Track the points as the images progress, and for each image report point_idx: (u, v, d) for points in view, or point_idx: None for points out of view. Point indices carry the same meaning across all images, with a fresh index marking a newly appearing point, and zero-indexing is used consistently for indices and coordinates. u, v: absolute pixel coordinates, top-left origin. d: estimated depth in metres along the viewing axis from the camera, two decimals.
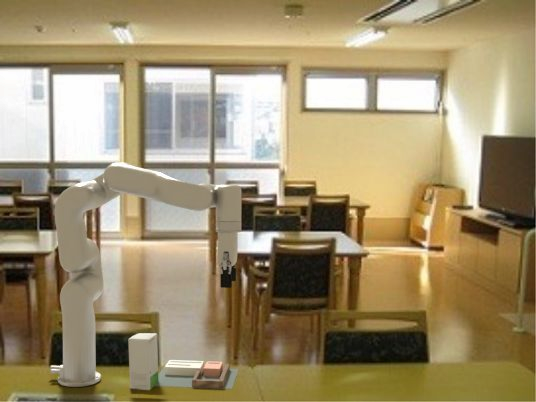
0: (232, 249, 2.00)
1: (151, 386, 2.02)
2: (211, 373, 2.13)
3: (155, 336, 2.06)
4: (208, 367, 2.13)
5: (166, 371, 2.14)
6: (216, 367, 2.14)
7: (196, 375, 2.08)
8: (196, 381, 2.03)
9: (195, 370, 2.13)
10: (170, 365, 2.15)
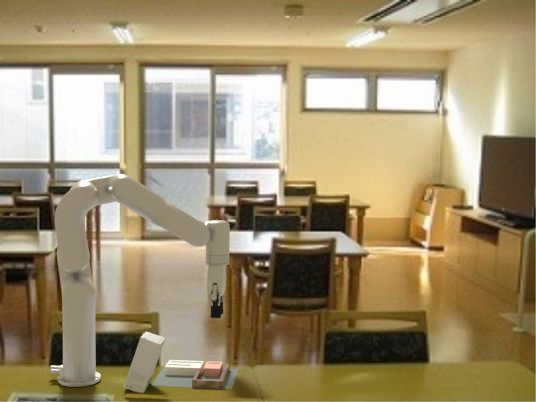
0: (220, 281, 2.17)
1: (145, 389, 2.00)
2: (211, 373, 2.13)
3: None
4: (208, 367, 2.13)
5: (166, 371, 2.14)
6: (216, 367, 2.14)
7: (196, 375, 2.08)
8: (196, 381, 2.03)
9: (195, 370, 2.13)
10: (170, 365, 2.15)
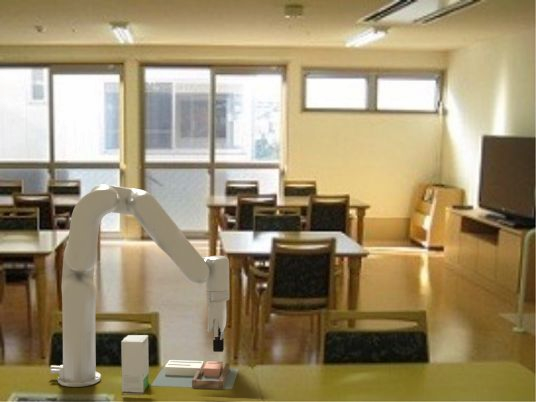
0: (221, 317, 2.18)
1: (144, 389, 2.00)
2: (211, 373, 2.13)
3: (147, 338, 2.04)
4: (208, 367, 2.13)
5: (166, 371, 2.14)
6: (216, 367, 2.14)
7: (196, 375, 2.08)
8: (196, 381, 2.03)
9: (195, 370, 2.13)
10: (170, 365, 2.15)
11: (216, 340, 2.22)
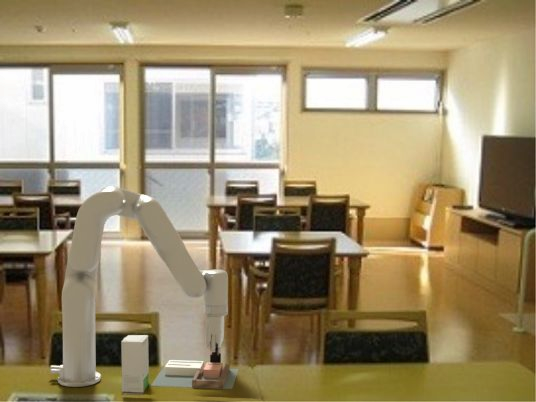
0: (219, 332, 2.15)
1: (144, 389, 2.00)
2: (210, 374, 2.12)
3: (147, 338, 2.04)
4: (208, 368, 2.12)
5: (166, 371, 2.14)
6: (216, 368, 2.13)
7: (196, 375, 2.08)
8: (196, 381, 2.03)
9: (195, 370, 2.13)
10: (170, 365, 2.15)
11: (213, 355, 2.19)
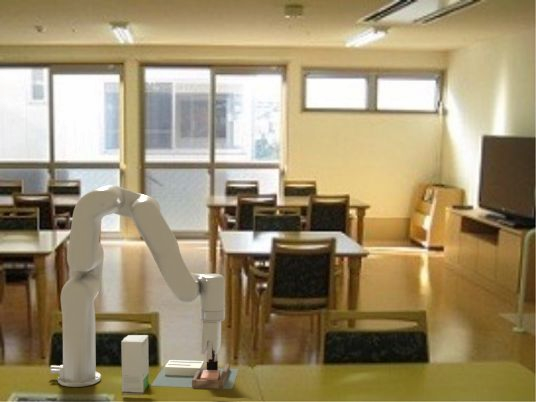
0: (215, 338, 2.07)
1: (144, 389, 2.00)
2: None
3: (147, 338, 2.04)
4: (205, 376, 2.05)
5: (166, 371, 2.14)
6: (213, 376, 2.05)
7: (196, 375, 2.08)
8: (196, 381, 2.03)
9: (195, 370, 2.13)
10: (170, 365, 2.15)
11: (210, 362, 2.11)
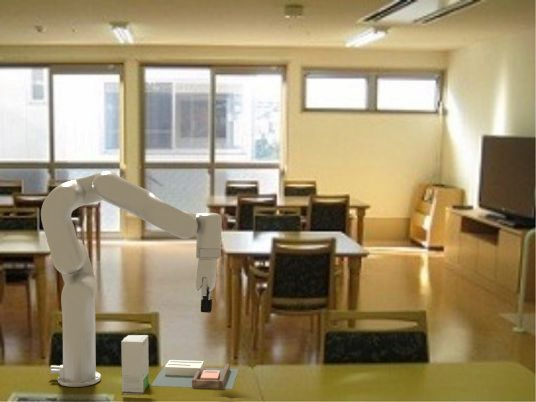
0: (210, 275, 2.10)
1: (144, 389, 2.00)
2: None
3: (147, 338, 2.04)
4: (205, 376, 2.05)
5: (166, 371, 2.14)
6: (213, 376, 2.05)
7: (196, 375, 2.08)
8: (196, 381, 2.03)
9: (195, 370, 2.13)
10: (170, 365, 2.15)
11: (204, 300, 2.14)
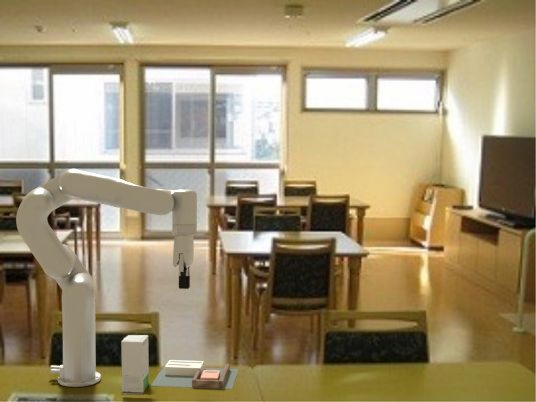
0: (187, 251, 2.11)
1: (144, 389, 2.00)
2: None
3: (147, 338, 2.04)
4: (205, 376, 2.05)
5: (166, 371, 2.14)
6: (213, 376, 2.05)
7: (196, 375, 2.08)
8: (196, 381, 2.03)
9: (195, 370, 2.13)
10: (170, 365, 2.15)
11: (182, 276, 2.15)
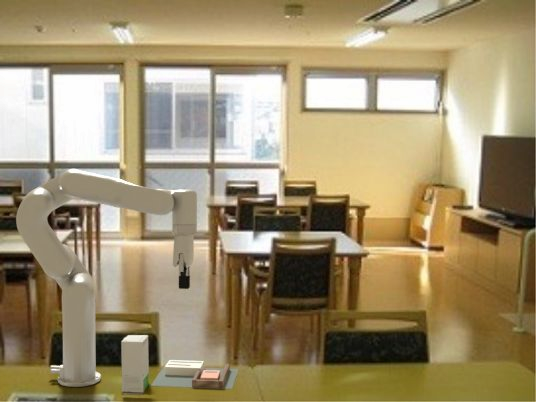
0: (187, 251, 2.11)
1: (144, 389, 2.00)
2: None
3: (147, 338, 2.04)
4: (205, 376, 2.05)
5: (166, 371, 2.14)
6: (213, 376, 2.05)
7: (196, 375, 2.08)
8: (196, 381, 2.03)
9: (195, 370, 2.13)
10: (170, 365, 2.15)
11: (182, 276, 2.15)
